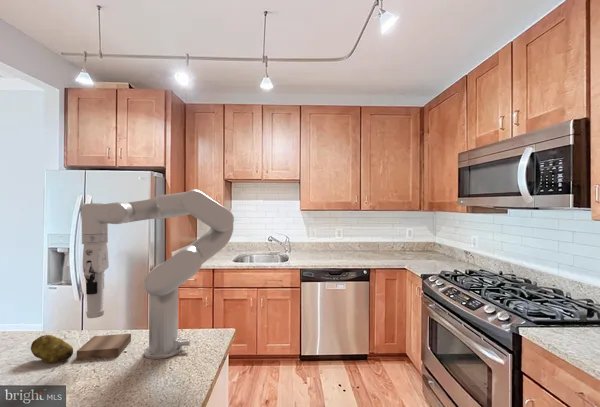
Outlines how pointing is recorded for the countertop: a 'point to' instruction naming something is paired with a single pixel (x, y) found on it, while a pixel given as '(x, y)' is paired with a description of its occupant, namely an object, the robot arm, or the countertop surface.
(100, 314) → the bottle
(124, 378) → the countertop surface
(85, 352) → the walnut plinth
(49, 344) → the potato
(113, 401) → the countertop surface
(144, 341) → the countertop surface
